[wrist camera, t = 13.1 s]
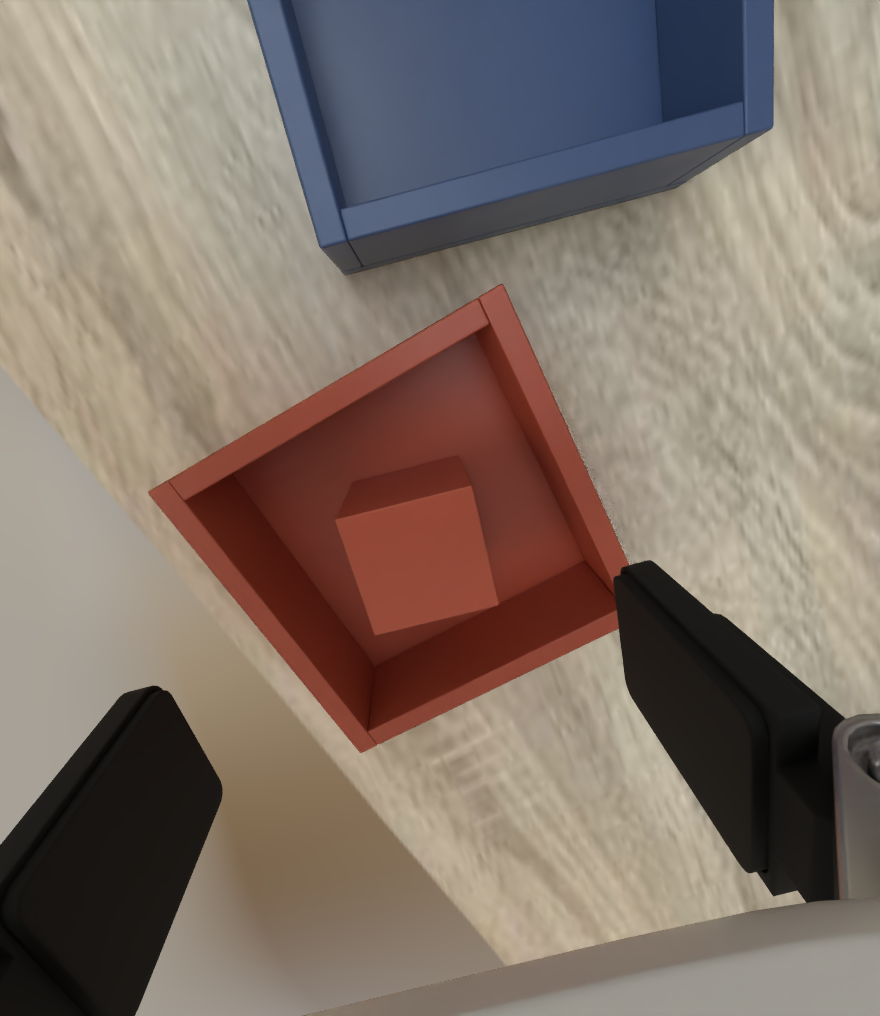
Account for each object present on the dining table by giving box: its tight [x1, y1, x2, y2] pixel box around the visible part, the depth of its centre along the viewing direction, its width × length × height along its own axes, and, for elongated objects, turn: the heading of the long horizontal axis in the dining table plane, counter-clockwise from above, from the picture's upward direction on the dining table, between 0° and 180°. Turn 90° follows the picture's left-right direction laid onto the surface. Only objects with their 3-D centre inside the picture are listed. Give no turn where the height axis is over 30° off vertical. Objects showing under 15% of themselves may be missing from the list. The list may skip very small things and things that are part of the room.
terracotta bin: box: [148, 284, 629, 753], centre depth 18 cm, size 13×13×5 cm
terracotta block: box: [335, 455, 499, 635], centre depth 17 cm, size 4×4×4 cm
